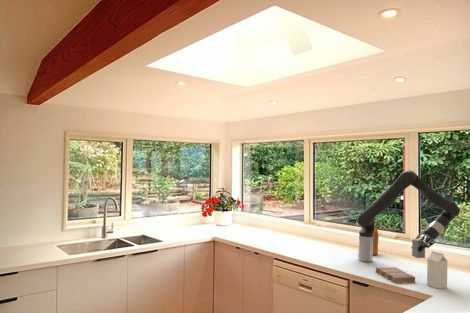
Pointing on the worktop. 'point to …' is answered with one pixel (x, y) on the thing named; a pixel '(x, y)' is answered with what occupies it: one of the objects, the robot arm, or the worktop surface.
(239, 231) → the worktop surface
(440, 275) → the milk carton
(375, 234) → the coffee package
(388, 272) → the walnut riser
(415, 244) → the block
